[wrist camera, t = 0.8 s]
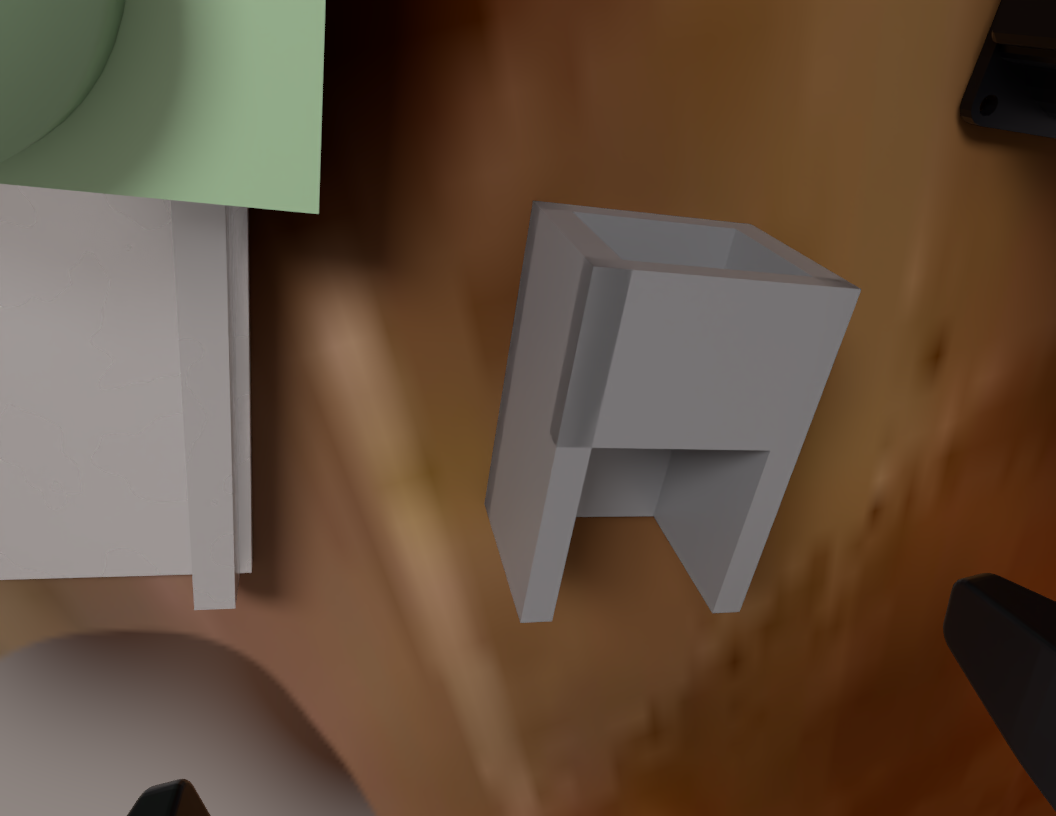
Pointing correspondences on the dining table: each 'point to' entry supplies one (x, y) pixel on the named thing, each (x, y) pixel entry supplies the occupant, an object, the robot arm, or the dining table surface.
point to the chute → (656, 391)
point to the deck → (141, 274)
